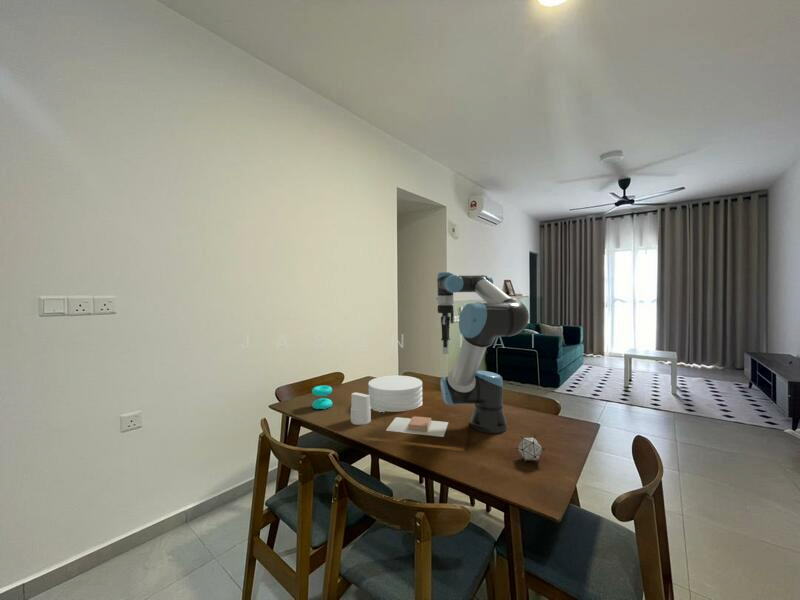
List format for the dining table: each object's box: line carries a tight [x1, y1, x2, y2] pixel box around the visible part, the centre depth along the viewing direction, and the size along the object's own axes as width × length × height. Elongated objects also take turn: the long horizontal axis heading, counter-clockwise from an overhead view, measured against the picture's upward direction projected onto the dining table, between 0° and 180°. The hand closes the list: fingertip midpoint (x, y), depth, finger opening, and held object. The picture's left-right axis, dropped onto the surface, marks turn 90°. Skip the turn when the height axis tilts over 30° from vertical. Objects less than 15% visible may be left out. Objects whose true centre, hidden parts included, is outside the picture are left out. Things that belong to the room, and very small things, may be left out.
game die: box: [514, 434, 546, 463], centre depth 113 cm, size 9×8×10 cm
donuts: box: [311, 385, 333, 410], centre depth 168 cm, size 10×10×10 cm
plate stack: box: [368, 375, 423, 414], centre depth 172 cm, size 28×28×12 cm
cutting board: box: [385, 416, 449, 438], centre depth 140 cm, size 24×15×1 cm, turn 74°
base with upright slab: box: [350, 392, 372, 426], centre depth 150 cm, size 9×9×12 cm
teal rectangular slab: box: [408, 415, 432, 432], centre depth 140 cm, size 8×2×9 cm
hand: (445, 353), depth 159 cm, fingers closed
